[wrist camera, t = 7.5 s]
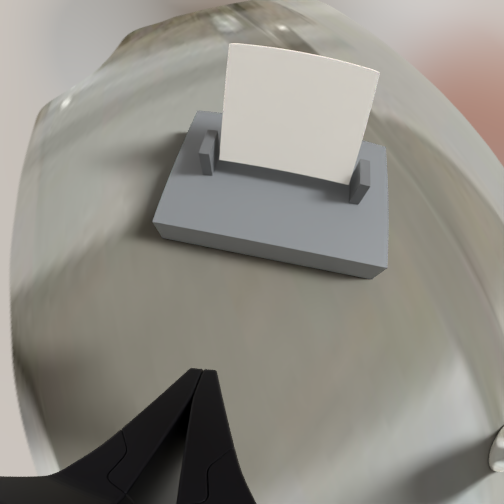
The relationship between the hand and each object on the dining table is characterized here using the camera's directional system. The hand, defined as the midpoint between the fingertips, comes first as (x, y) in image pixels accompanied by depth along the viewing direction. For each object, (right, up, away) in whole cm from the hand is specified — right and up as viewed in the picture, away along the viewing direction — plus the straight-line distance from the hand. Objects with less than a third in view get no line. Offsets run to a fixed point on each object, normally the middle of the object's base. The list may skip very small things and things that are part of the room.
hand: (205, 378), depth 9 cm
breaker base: (+4, +9, +18) cm, 20 cm away
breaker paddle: (+4, +10, +14) cm, 18 cm away
